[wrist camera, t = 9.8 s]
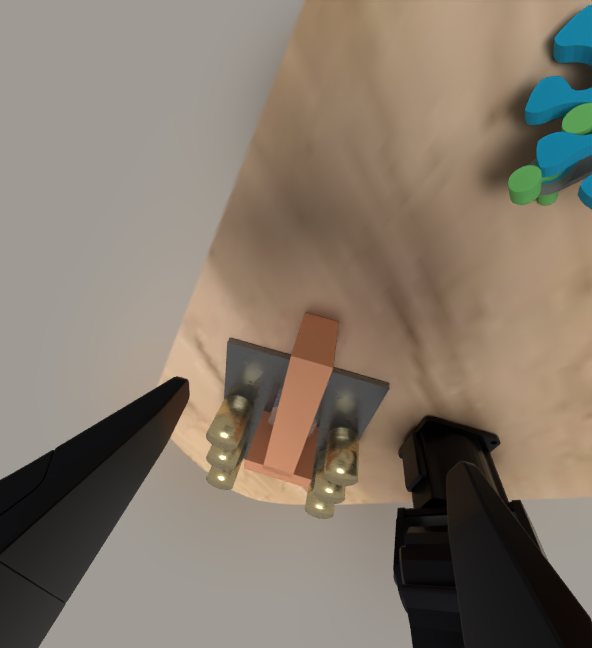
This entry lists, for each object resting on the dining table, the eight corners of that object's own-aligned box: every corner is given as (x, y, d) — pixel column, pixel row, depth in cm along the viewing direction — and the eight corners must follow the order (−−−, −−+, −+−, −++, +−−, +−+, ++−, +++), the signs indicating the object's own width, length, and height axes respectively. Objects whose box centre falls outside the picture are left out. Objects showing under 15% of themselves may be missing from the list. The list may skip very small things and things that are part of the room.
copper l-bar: (359, 327, 21) (359, 375, 16) (316, 435, 28) (307, 488, 24) (285, 307, 21) (265, 348, 17) (261, 419, 29) (243, 468, 24)
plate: (388, 383, 23) (393, 430, 20) (332, 480, 34) (328, 523, 30) (230, 337, 24) (205, 375, 20) (223, 446, 35) (206, 484, 31)
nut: (324, 394, 25) (321, 415, 23) (310, 423, 28) (306, 443, 26) (282, 379, 25) (276, 399, 23) (271, 410, 28) (265, 429, 26)
